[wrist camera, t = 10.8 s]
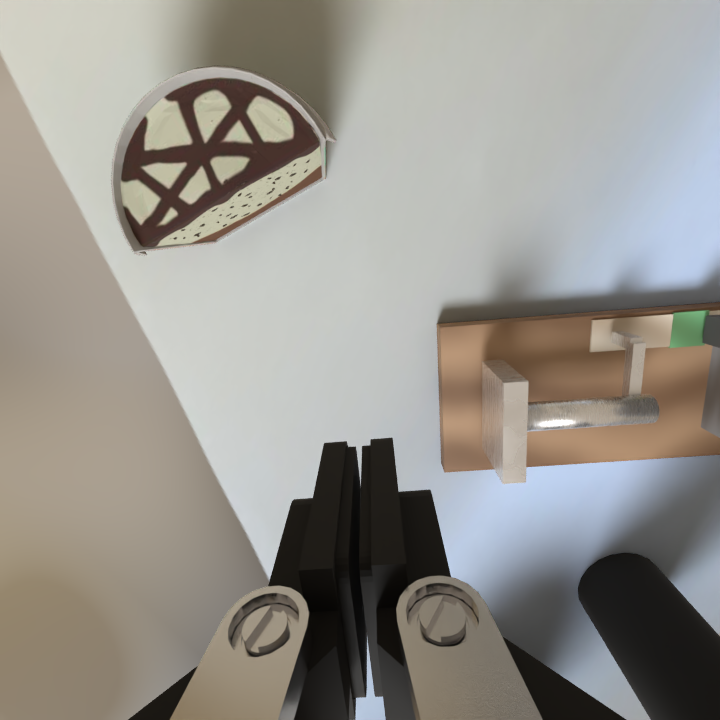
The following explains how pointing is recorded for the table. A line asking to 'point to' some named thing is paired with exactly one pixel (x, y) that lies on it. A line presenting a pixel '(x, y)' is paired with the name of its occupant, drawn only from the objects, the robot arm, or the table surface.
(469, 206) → the table surface
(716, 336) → the dark grey small block
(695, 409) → the gauge board
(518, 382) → the plunger
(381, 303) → the table surface
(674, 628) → the wine bottle
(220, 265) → the table surface
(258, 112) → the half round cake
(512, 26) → the table surface
